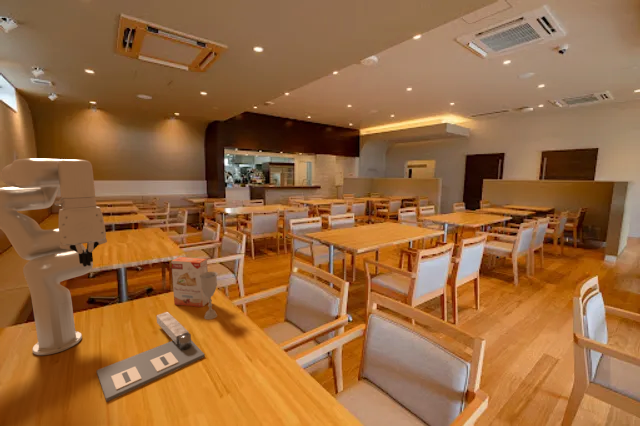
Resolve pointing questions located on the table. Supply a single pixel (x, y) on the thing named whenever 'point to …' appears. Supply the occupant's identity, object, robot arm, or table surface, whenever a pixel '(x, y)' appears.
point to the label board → (145, 368)
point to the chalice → (209, 290)
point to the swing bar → (174, 330)
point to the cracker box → (189, 281)
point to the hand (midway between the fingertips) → (86, 264)
